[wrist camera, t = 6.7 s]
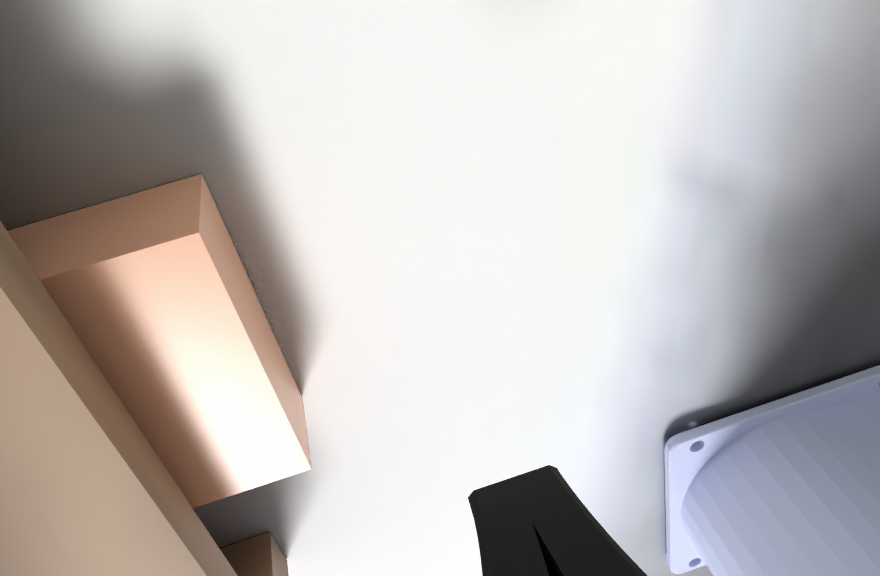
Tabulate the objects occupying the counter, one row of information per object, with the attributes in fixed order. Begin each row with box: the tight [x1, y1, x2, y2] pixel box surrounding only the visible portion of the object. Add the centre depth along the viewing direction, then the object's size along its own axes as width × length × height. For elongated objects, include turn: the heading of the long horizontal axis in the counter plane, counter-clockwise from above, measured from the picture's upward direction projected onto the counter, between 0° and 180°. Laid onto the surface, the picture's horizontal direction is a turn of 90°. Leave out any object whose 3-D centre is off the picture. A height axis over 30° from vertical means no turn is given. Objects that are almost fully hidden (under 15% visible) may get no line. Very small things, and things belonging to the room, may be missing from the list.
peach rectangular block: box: [8, 174, 311, 508], centre depth 16 cm, size 8×7×3 cm
